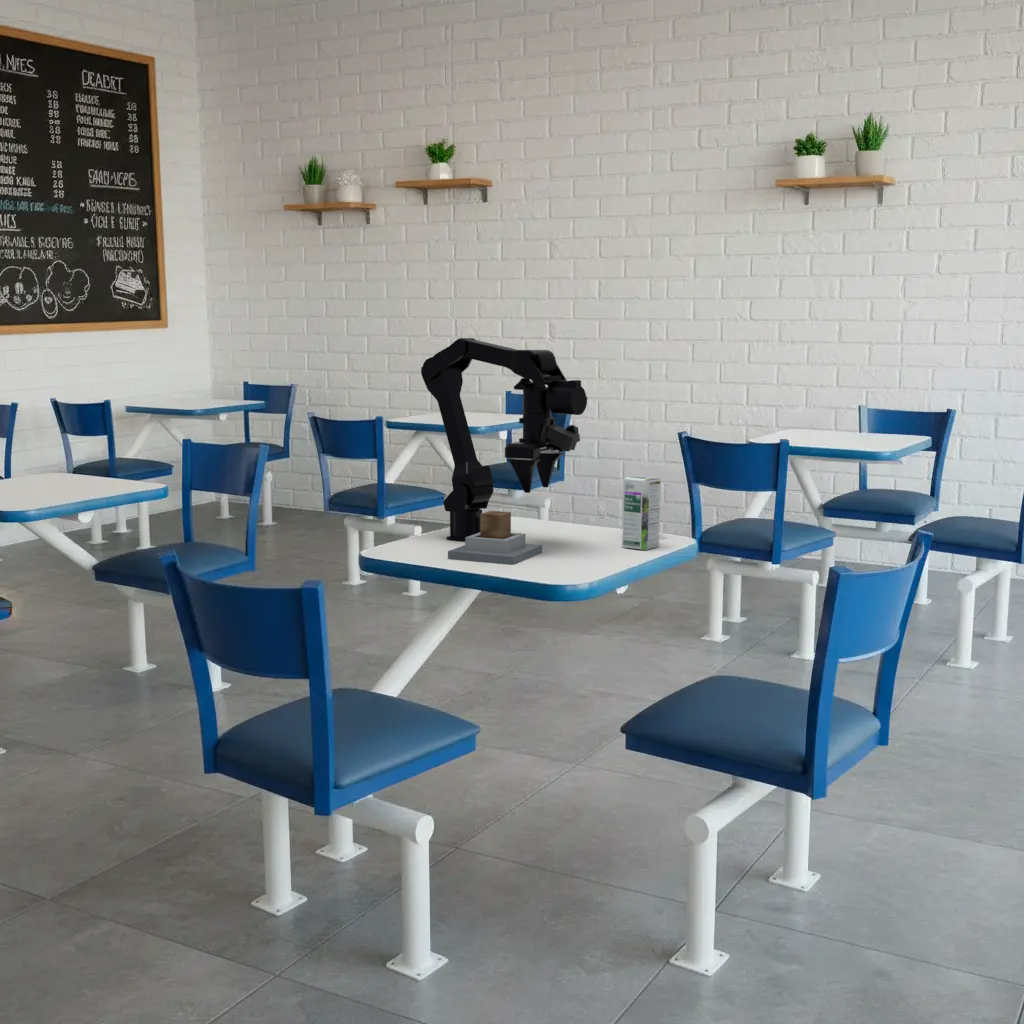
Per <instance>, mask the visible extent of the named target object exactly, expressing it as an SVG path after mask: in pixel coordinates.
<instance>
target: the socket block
mask: <svg viewBox="0 0 1024 1024" xmlns="http://www.w3.org/2000/svg"><path fill="white" fill-rule="evenodd" d="M464 543H465V544H464V545H461V546H459V547H456V548H453V549H451V550H448V551H447V559H448V560H457V561H458V560H459V561H468V562H469V561H470V562H481V563H490V562H491V563H493V564H501V563H502V564H503V565H512V564H514V565H516V564H518V563H520V561H521V562H524V561H525V559H526V560H528V559H529V558H532V557H535V556H537V555H540V554H542V553H543V545H542V544H534V543H533V544H532V543H526V533H519V532H511V537H509V538H506V539H493V538H481V537H480V533H477V534H474V535H471V536H468V537H465V540H464ZM527 558H528V559H527ZM491 563H490V564H491ZM502 564H501V565H502Z"/></svg>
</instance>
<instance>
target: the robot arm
mask: <svg viewBox="0 0 1024 1024" xmlns="http://www.w3.org/2000/svg"><path fill="white" fill-rule="evenodd" d="M473 360H474V361H479V362H483V363H485V364H486V363H487V364H491V365H495V366H499V367H503V368H505V369H508V370H510V371H511V372H512V373H513V374H514V375H517V376H518V377H521V378H520V380H519V381H518V382H517V383H516V384H515V385H514V386H513V389H514V390H515V391H517V390H518V391H519V390H520V391H522V417H520V418H518V420H519V421H518V423H519V424H522V437H521V438H519V439H518V442H517V441H515V442H510V443H508V444H507V445H506V446H505V447H504V458H506V459H507V462H509V463H510V465H511V466H512V469H513V470H514V472H515V474H516V476H517V479H518V480H519V483H520V485H521V487H522V489H523V492H524V493H526V494H530V493H531V490H532V484H533V482H532V481H533V476H534V469H535V468H534V467H535V466H536V469H537V472H538V476H539V479H540V483H541V485H542V487H543V488H548V487H549V485H550V482H551V478H552V476H553V472H554V471H553V470H554V469H555V465H556V463H557V461H558V460H559V459H560V458H561V457H562V456H564V455H565V452H571V451H575V450H576V446H577V443H579V442H580V441H581V438H580V436H581V434H580V433H579V427H578V426H576V425H573V424H569V425H568V426H566V427H563V426H560V425H559V426H558V425H557V419H555V417H552V414H554V415H569V416H570V415H571V416H573V415H574V416H580V415H582V414H584V412H585V411H586V408H587V405H588V396H587V394H586V390H585V389H584V388H583V386H582V381H581V379H571V380H567V378H566V377H565V375H564V373H563V372H562V370H561V369H560V366H559V365H558V364H557V361H556V360H557V359H556V357H555V355H554V353H553V352H552V351H551V350H549V349H517V348H516V349H515V348H512V347H509V346H508V347H507V346H503V345H499V344H494V343H490V342H486V341H482V340H477V339H476V338H474V337H464V338H463V337H459V338H457V339H456V340H455V341H453V342H452V343H451V344H450V345H449V346H447V347H445V348H443V349H441V350H440V351H439V352H436V353H435V354H434V355H433V356H432V357H428V358H426V359H425V361H424V362H423V364H422V366H421V367H420V372H421V378H422V380H423V382H424V384H425V387H426V389H427V391H428V392H429V393H430V394H431V395H432V396H433V398H434V399H435V400H436V402H437V404H438V408H439V412H440V415H441V416H440V417H441V420H442V423H443V426H444V427H443V428H444V431H445V435H446V438H447V442H448V445H449V450H450V453H451V458H452V460H453V463H454V465H453V466H454V467H453V472H452V477H451V485H452V486H451V487H452V490H451V492H450V493H449V494H448V495H447V496H446V498H445V499H444V500H443V502H442V504H443V507H444V511H445V512H449V535H447V536H446V537H445V539H446V540H455V541H465V537H468V536H471V535H474V534H477V533H480V514H482V513H483V509H484V510H485V509H488V505H489V502H490V499H491V497H492V496H493V494H494V485H495V481H494V479H493V477H492V472H491V471H492V469H491V468H490V465H482V464H481V462H480V461H479V460H478V458H477V454H476V451H475V450H476V449H475V447H474V442H473V439H472V436H471V432H470V429H469V425H468V421H467V417H466V413H465V409H464V406H463V401H462V399H461V392H462V387H463V383H464V381H463V380H464V379H463V373H464V372H465V371H466V370H467V369H468V368H469V367H470V365H471V363H472V361H473Z"/></svg>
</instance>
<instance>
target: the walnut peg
mask: <svg viewBox="0 0 1024 1024" xmlns="http://www.w3.org/2000/svg"><path fill="white" fill-rule="evenodd" d="M511 512H512V511H511ZM511 512H510V511H498V510H488V511H486V512H485V511H484V512H482V514H480V537H481V538H493V539H506V538H509V537H511V533H512V513H511Z"/></svg>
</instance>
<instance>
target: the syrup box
mask: <svg viewBox="0 0 1024 1024" xmlns="http://www.w3.org/2000/svg"><path fill="white" fill-rule="evenodd" d="M622 489H623V493H622V496H623V500H622V502H623V503H622V507H623V509H622V537H621V539H622V541H621V546H622V549H633V550H641V551H647V550H648V551H649V550H651V549H655V548H658V547H659V545H660V543H659V542H660V538H659V537H660V509H661V508H660V507H661V506H660V505H661V501H660V500H661V477H660V478H659V477H648V476H636V475H632V476H627V477H624V478H623V488H622Z"/></svg>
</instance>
